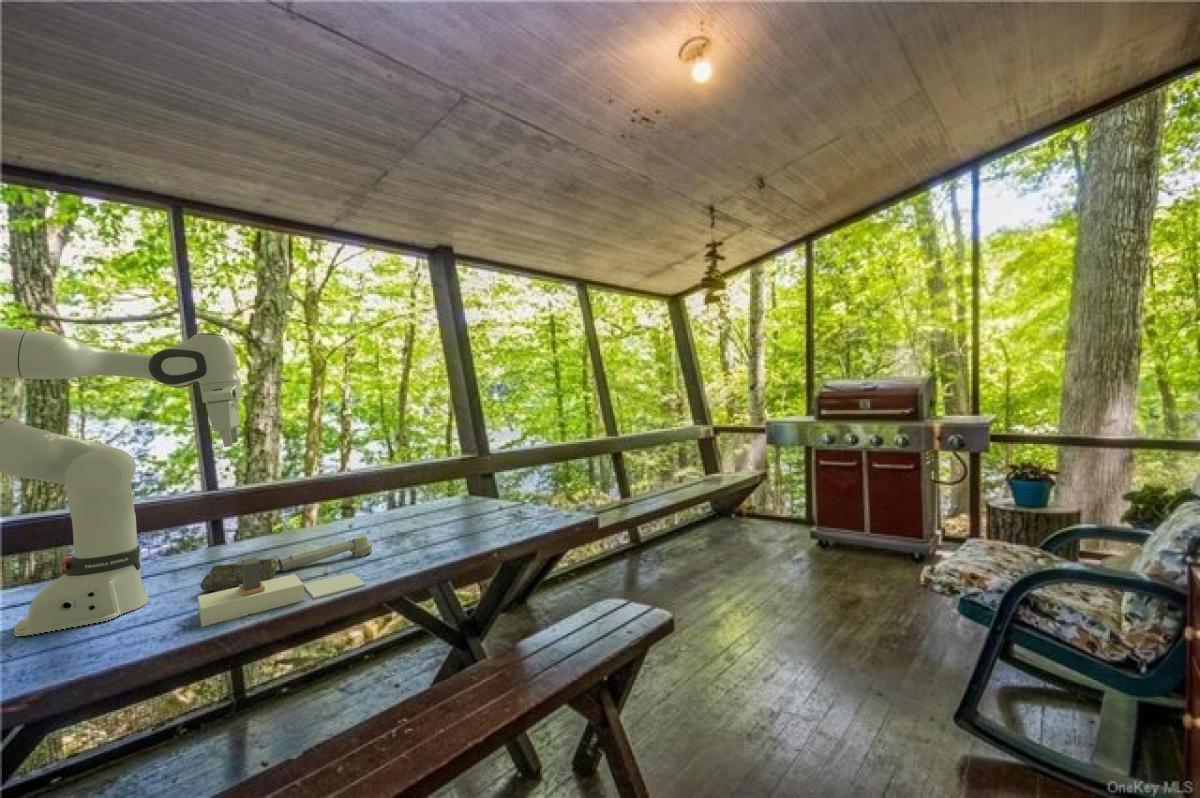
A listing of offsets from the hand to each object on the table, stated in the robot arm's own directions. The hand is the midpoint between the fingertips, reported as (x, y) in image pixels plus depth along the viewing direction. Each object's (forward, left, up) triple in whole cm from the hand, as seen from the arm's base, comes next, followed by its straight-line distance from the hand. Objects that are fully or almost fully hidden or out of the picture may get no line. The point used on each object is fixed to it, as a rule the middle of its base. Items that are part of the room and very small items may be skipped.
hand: (231, 444), depth 139 cm
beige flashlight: (+23, +3, -38) cm, 44 cm away
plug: (+1, -22, -38) cm, 44 cm away
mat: (+19, -22, -38) cm, 47 cm away
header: (+1, -22, -38) cm, 44 cm away
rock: (+1, -1, -38) cm, 38 cm away
